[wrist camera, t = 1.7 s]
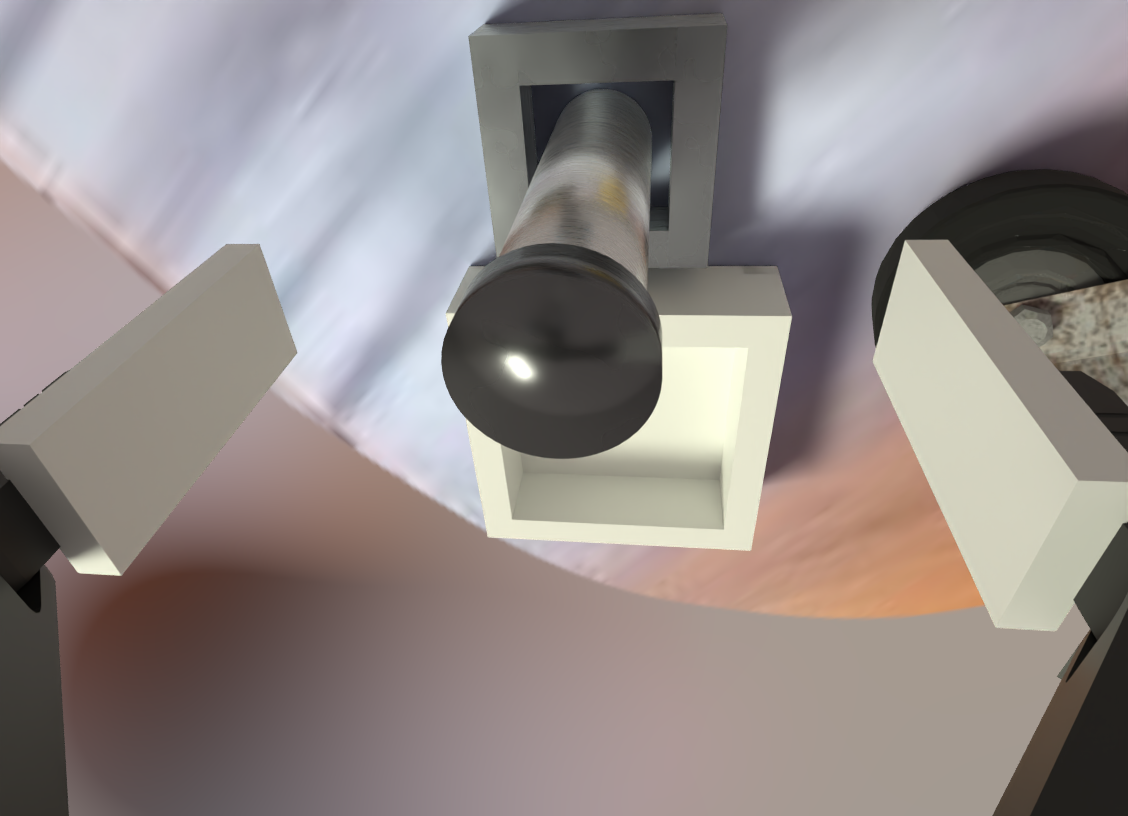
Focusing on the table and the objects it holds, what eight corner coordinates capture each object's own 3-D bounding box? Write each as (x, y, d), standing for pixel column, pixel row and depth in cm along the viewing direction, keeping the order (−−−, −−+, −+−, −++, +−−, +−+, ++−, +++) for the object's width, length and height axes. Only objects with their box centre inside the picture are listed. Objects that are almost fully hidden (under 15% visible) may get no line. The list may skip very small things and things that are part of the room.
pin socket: (483, 24, 20) (468, 36, 18) (721, 12, 19) (727, 24, 18) (508, 243, 24) (497, 268, 23) (704, 242, 23) (707, 268, 22)
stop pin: (540, 80, 21) (422, 275, 10) (663, 76, 20) (667, 276, 10) (549, 200, 23) (459, 455, 13) (659, 198, 23) (658, 462, 12)
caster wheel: (849, 201, 25) (1205, 97, 20) (902, 457, 29) (1208, 419, 24) (853, 252, 19) (1343, 126, 15) (917, 560, 23) (1317, 537, 19)
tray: (469, 266, 25) (445, 313, 22) (777, 265, 24) (791, 316, 21) (502, 481, 32) (487, 537, 29) (742, 490, 31) (750, 550, 28)
